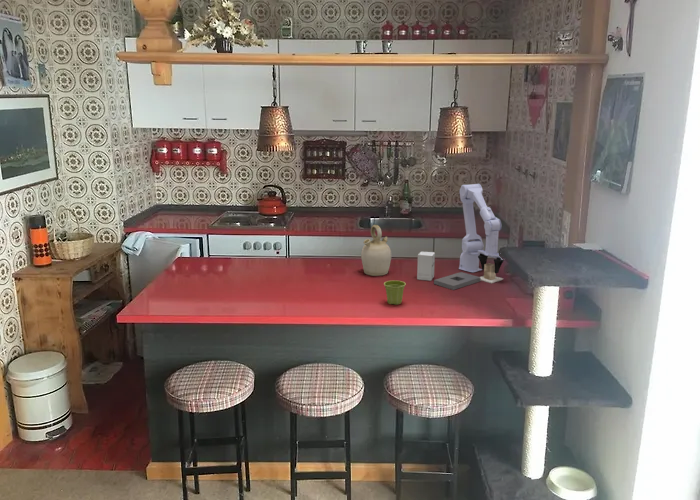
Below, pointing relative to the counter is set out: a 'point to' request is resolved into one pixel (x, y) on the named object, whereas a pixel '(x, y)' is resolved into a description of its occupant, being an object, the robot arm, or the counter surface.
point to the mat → (491, 280)
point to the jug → (376, 254)
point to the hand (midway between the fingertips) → (490, 271)
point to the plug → (489, 271)
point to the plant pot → (394, 291)
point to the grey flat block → (461, 278)
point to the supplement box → (425, 266)
